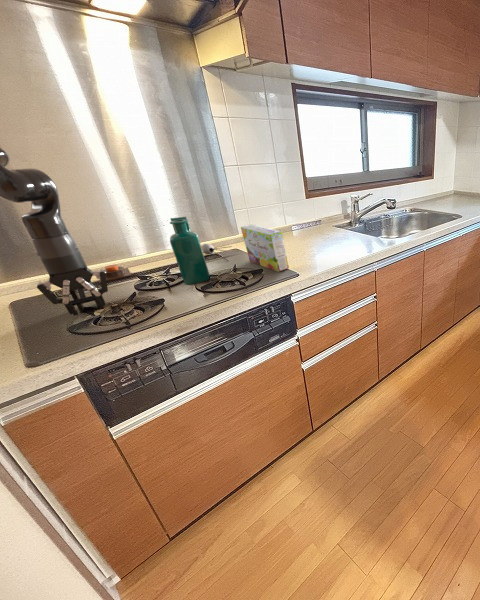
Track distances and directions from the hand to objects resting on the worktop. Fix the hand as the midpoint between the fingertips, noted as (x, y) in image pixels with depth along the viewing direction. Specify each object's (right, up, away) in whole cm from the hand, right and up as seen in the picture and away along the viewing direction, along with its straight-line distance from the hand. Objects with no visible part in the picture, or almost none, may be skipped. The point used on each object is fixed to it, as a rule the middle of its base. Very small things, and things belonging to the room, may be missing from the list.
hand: (89, 310), depth 90 cm
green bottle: (+12, +11, +30) cm, 34 cm away
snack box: (+33, +17, +42) cm, 56 cm away
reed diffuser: (+5, +21, +52) cm, 56 cm away
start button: (-19, +14, +29) cm, 38 cm away
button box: (-19, +11, +31) cm, 38 cm away
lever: (-4, +5, +2) cm, 7 cm away
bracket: (-6, -1, +8) cm, 10 cm away
